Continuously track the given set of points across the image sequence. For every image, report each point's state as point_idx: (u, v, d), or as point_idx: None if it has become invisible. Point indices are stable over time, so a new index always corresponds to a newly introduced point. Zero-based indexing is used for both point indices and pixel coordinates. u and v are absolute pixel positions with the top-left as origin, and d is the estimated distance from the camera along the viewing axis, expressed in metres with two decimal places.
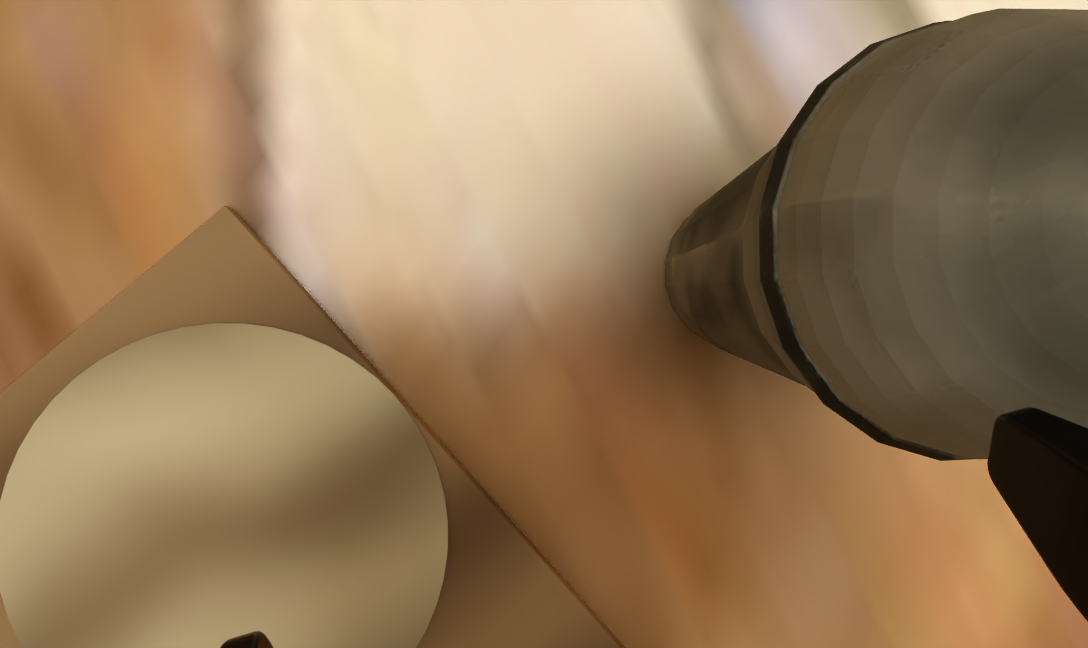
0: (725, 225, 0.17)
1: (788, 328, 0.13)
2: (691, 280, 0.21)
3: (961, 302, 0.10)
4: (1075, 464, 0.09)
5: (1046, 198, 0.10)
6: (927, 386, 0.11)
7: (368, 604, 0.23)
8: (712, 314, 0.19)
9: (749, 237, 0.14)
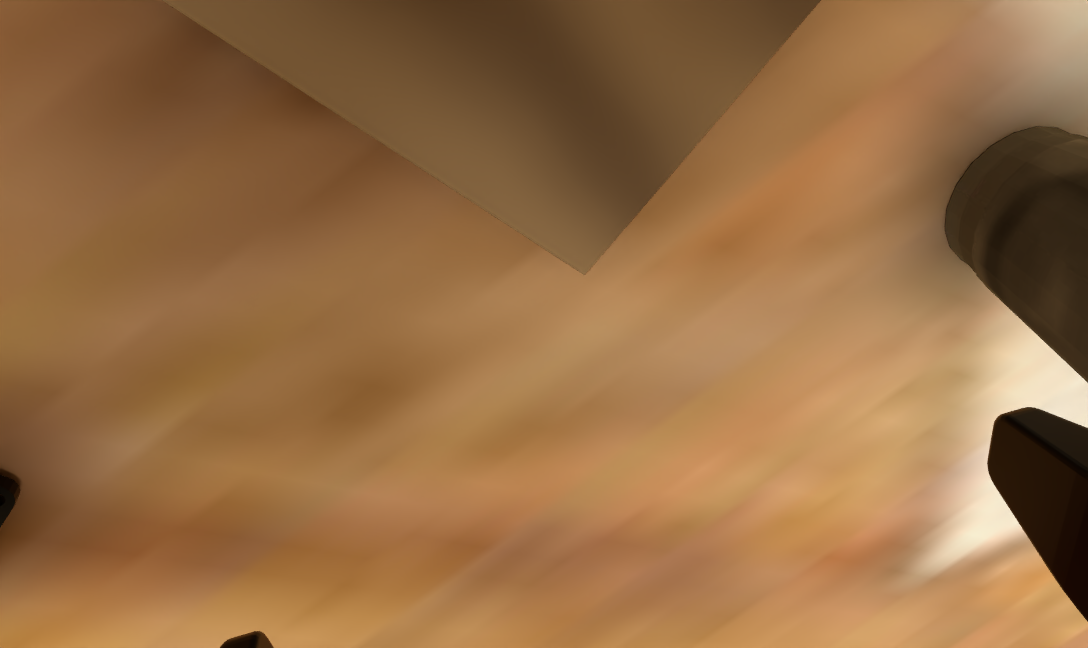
0: None
1: None
2: None
3: None
4: (1076, 464, 0.09)
5: None
6: None
7: None
8: None
9: None
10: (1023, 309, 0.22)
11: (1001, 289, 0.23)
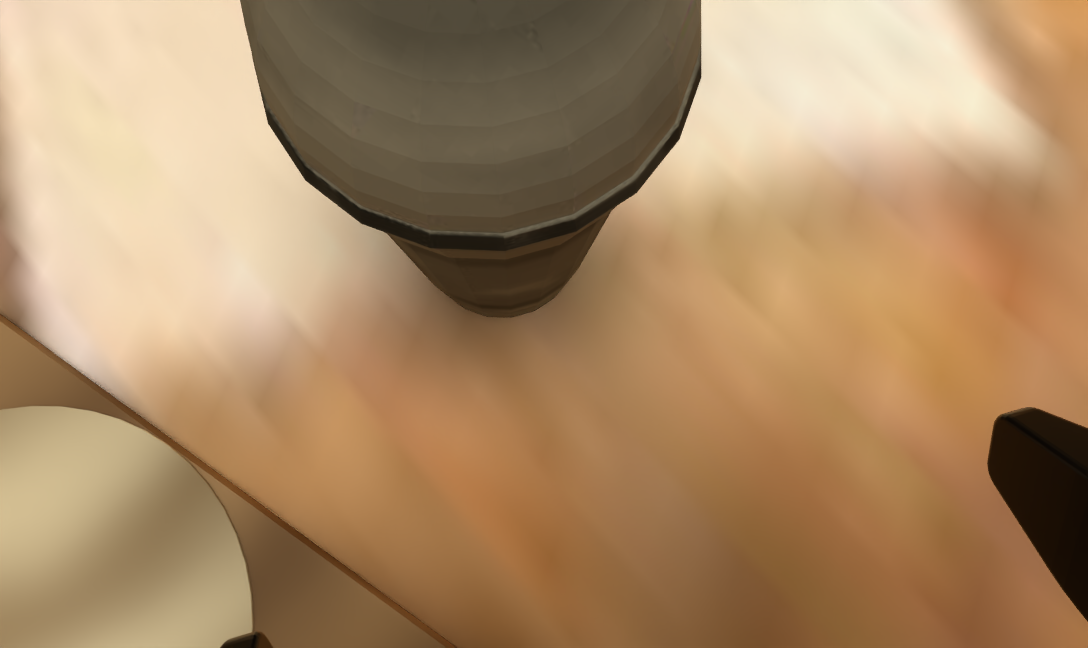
0: None
1: (294, 153, 0.13)
2: None
3: (317, 13, 0.10)
4: (1075, 464, 0.09)
5: None
6: (357, 127, 0.11)
7: None
8: None
9: None
10: (553, 283, 0.20)
11: (551, 290, 0.21)
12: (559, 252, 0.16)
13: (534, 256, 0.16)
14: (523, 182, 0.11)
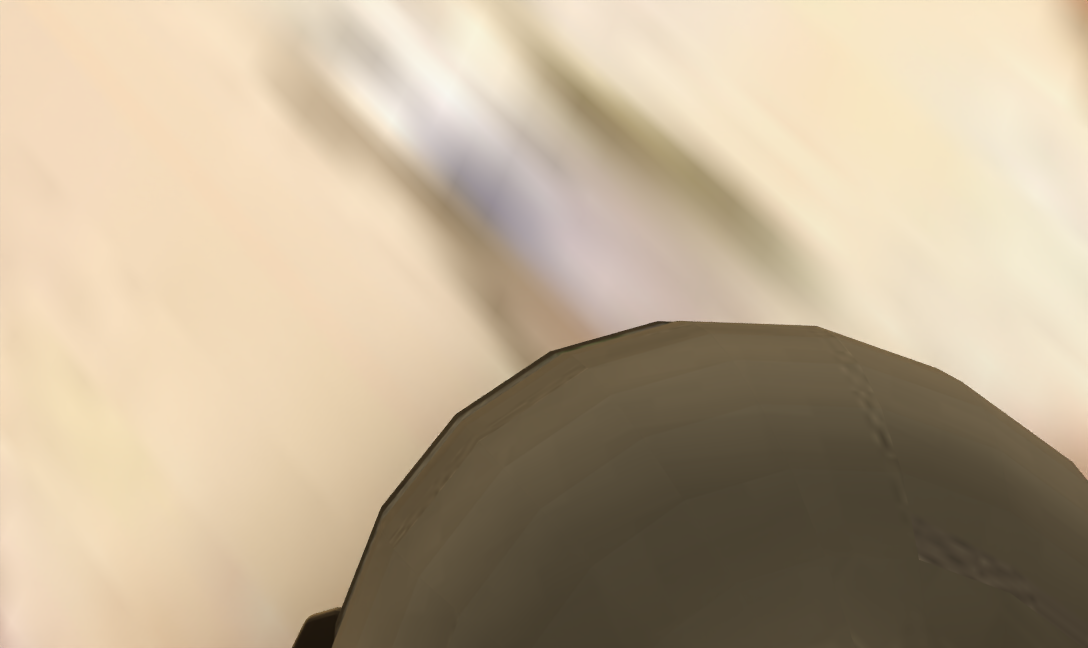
0: None
1: None
2: None
3: None
4: None
5: None
6: None
7: None
8: None
9: None
10: None
11: None
12: None
13: None
14: None
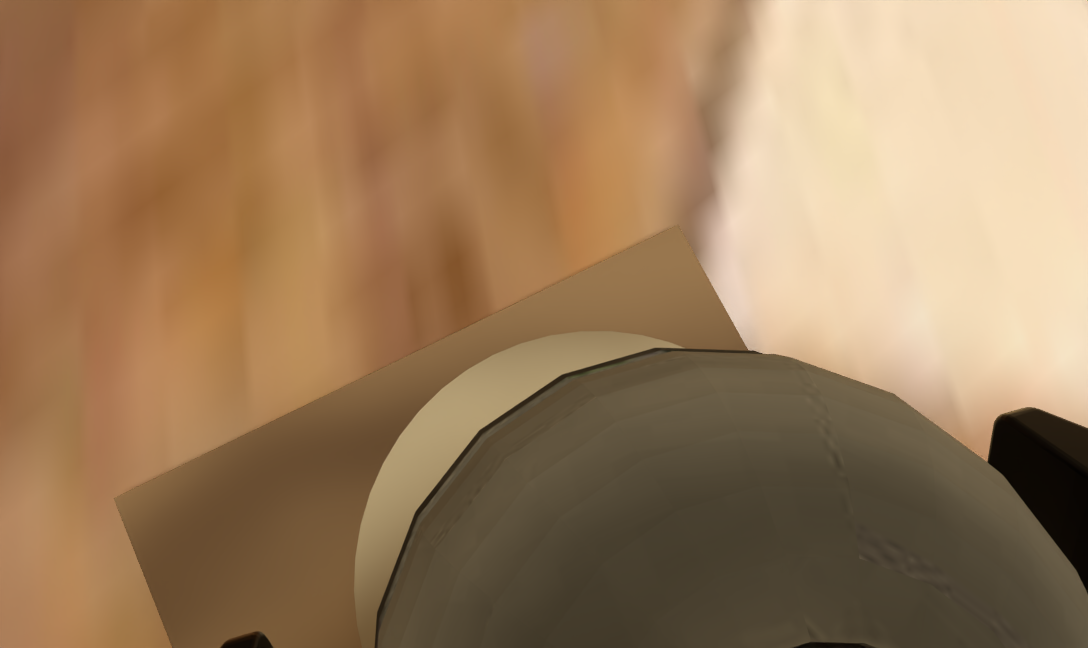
0: None
1: None
2: None
3: None
4: (1075, 464, 0.09)
5: None
6: None
7: None
8: None
9: None
10: None
11: None
12: None
13: None
14: None
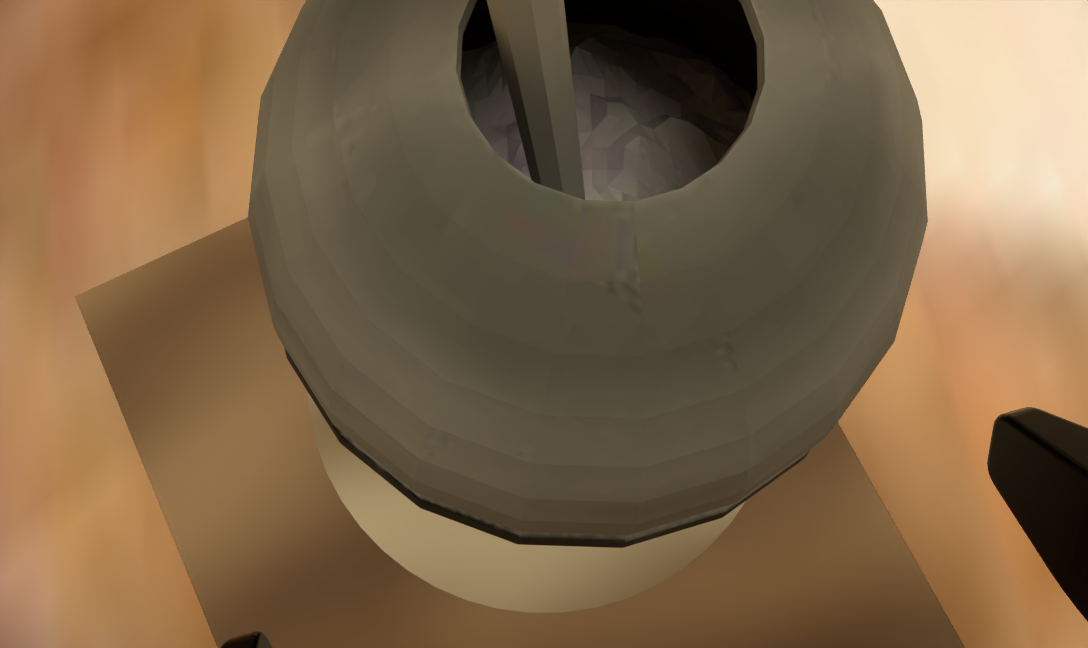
0: None
1: (325, 412, 0.09)
2: None
3: (371, 297, 0.06)
4: (1075, 464, 0.09)
5: (395, 92, 0.06)
6: (429, 445, 0.07)
7: None
8: None
9: None
10: None
11: None
12: None
13: None
14: (674, 509, 0.07)
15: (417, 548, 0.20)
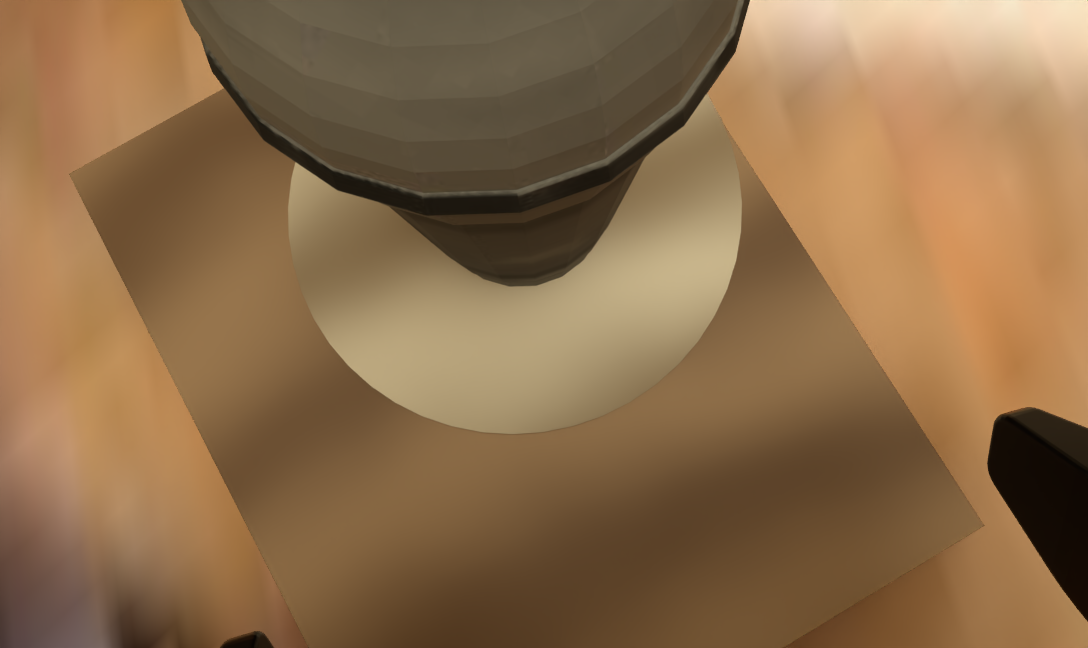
0: None
1: (245, 107, 0.10)
2: None
3: None
4: (1075, 464, 0.09)
5: None
6: (311, 60, 0.08)
7: (642, 299, 0.21)
8: None
9: None
10: (582, 245, 0.18)
11: (579, 253, 0.19)
12: (588, 209, 0.14)
13: (558, 216, 0.13)
14: (538, 118, 0.08)
15: (402, 381, 0.21)
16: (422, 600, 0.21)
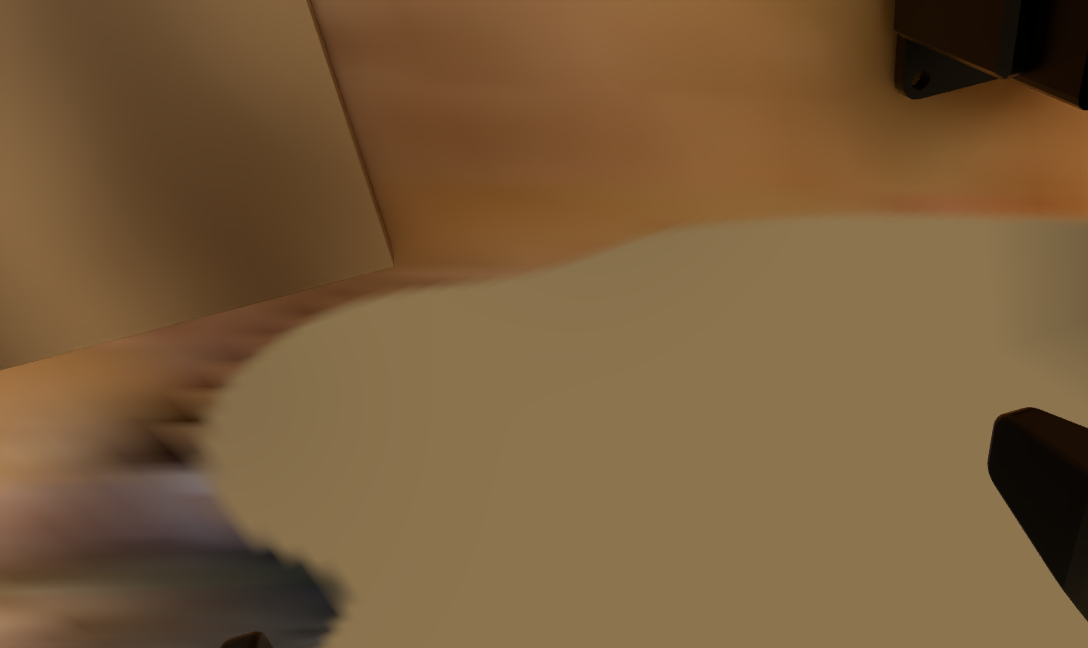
0: None
1: None
2: None
3: None
4: (1075, 464, 0.09)
5: None
6: None
7: None
8: None
9: None
10: None
11: None
12: None
13: None
14: None
15: None
16: (126, 214, 0.19)
